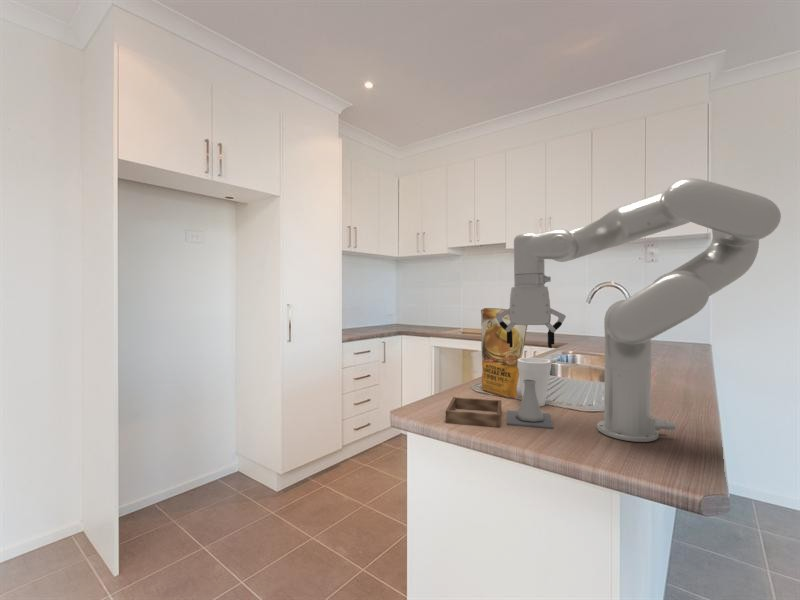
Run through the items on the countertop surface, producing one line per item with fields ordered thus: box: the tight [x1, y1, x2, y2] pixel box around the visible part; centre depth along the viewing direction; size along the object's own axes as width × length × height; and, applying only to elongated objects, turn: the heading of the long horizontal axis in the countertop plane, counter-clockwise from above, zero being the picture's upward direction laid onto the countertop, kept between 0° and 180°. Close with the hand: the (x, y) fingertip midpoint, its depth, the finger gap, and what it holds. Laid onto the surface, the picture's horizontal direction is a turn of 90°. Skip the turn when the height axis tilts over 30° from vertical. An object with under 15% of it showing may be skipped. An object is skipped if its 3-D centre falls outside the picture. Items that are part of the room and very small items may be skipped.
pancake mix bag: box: [480, 307, 529, 399], centre depth 130 cm, size 7×19×28 cm, turn 31°
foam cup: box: [518, 357, 552, 407], centre depth 118 cm, size 10×9×13 cm
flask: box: [516, 379, 544, 422], centre depth 103 cm, size 7×7×10 cm
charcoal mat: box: [506, 410, 554, 429], centre depth 103 cm, size 11×11×1 cm
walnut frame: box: [445, 396, 502, 428], centre depth 106 cm, size 14×14×3 cm
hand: (530, 346), depth 103 cm, fingers open, 9 cm apart
